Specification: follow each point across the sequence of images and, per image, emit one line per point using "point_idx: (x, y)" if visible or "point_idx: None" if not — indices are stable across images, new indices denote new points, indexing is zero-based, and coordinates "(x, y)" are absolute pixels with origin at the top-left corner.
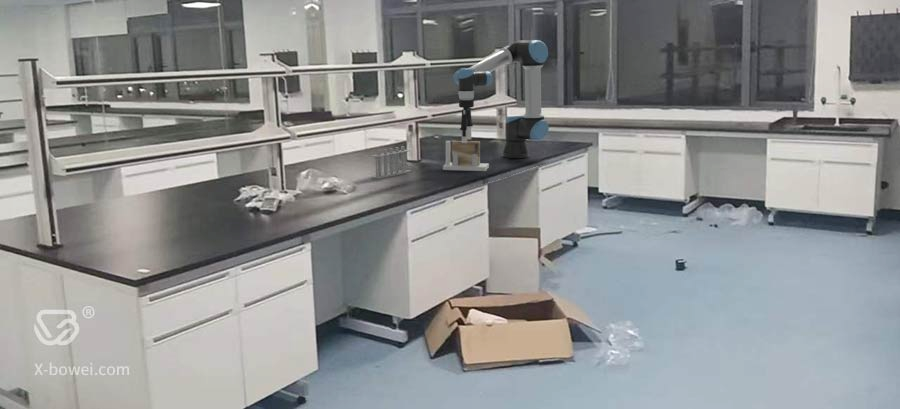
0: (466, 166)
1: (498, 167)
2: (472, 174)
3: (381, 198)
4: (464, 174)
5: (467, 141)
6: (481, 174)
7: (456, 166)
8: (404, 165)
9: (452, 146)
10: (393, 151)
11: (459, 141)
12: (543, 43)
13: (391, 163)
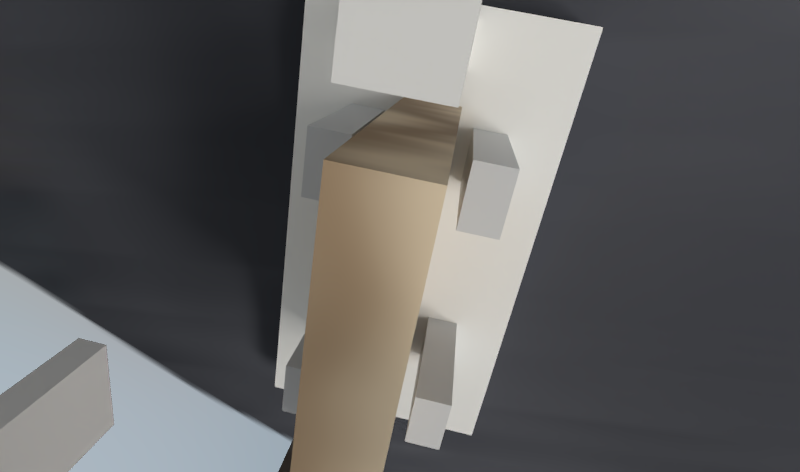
0: (296, 241)
1: (462, 467)
2: (127, 259)
3: None
4: (111, 197)
5: (353, 452)
6: (143, 320)
7: (295, 141)
8: None
9: (353, 140)
10: None
11: (344, 319)
12: None
13: None
